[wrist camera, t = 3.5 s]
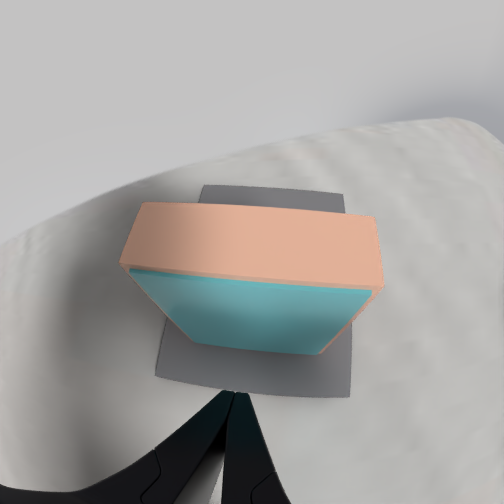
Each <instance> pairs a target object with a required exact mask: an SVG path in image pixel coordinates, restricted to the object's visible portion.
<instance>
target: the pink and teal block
mask: <svg viewBox="0 0 504 504" xmlns="http://www.w3.org/2000/svg"><path fill="white" fill-rule="evenodd" d="M118 263H119V264H120V265H121V267H122V268H123V269H124V270H125V271H126V272H127V274H128V275H129V276H130V277H131V278H132V279H133V280H134V281H135V283H136V284H137V285H138V286H139V287H140V288H141V289H142V290H143V291H144V292H145V294H146V295H147V296H148V297H149V298H150V299H151V300H152V301H153V302H154V303H155V304H156V305H157V306H158V307H159V308H160V309H161V310H162V311H163V313H164V314H165V315H166V316H167V317H168V318H169V319H170V320H171V321H172V322H173V323H174V324H175V325H176V326H177V327H178V328H179V329H180V330H181V331H182V332H184V333H185V334H186V335H187V336H188V337H189V338H190V339H191V340H192V341H194V342H195V343H201V344H207V345H214V346H222V347H229V348H238V349H246V350H256V351H266V352H277V353H291V354H307V355H317V354H321V353H322V352H323V351H324V350H325V349H326V348H327V347H328V346H329V345H330V344H331V343H332V342H333V341H334V340H335V339H336V338H337V337H338V336H339V335H340V334H341V333H342V332H343V331H344V330H345V329H346V328H347V327H348V326H349V325H350V324H351V323H352V322H353V321H354V320H355V319H356V317H357V316H358V315H359V314H360V313H361V312H362V311H363V310H364V309H365V308H366V307H367V305H368V304H369V303H370V302H371V301H372V300H373V299H374V298H375V296H376V295H377V294H378V293H379V292H380V291H381V290H382V288H383V287H384V278H383V269H382V261H381V253H380V246H379V240H378V233H377V227H376V222H375V217H371V216H362V215H353V214H344V213H334V212H323V211H312V210H301V209H288V208H275V207H260V206H244V205H225V204H203V203H172V202H143V203H142V205H141V207H140V210H139V212H138V214H137V217H136V219H135V221H134V224H133V226H132V229H131V231H130V233H129V236H128V238H127V241H126V244H125V246H124V249H123V251H122V254H121V257H120V259H119V262H118Z"/></svg>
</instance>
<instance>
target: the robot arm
mask: <svg viewBox="0 0 504 504" xmlns="http://www.w3.org/2000/svg"><path fill="white" fill-rule="evenodd" d="M154 449H155V450H154ZM154 449H152V450H151V451H150V452H149V453H147V454H146V455H145V456H143V457H142V458H140V459H139V460H138V461H136V462H135V463H133V464H132V465H130V466H128V467H127V468H125V469H123V470H121V471H120V472H118V473H116V474H114V475H112V476H110V477H108V478H106V479H104V480H102V481H100V482H98V483H96V484H94V485H91V486H89V487H87V488H85V489H82V490H78V491H73V492H45V491H32V490H23V489H15V488H10V487H6V486H3V485H1V484H0V504H208V503H209V500H210V498H211V495H212V492H213V490H214V487H215V484H216V482H217V479H218V476H219V473H220V471H221V468H222V465H223V462H224V469H223V483H222V498H221V504H291V502H290V501H289V499H288V497H287V495H286V493H285V491H284V489H283V487H282V484H281V482H280V480H279V477H278V475H277V472H275V471H276V470H275V467H274V464H273V462H272V459H271V456H270V454H269V451H268V448H267V445H266V443H265V440H264V437H263V434H262V431H261V428H260V426H259V423H258V420H257V417H256V414H255V411H254V408H253V405H252V402H251V399H250V396H249V394H248V393H242V392H236V393H235V392H234V391H227V390H222V391H221V392H220V393H219V394H217V395H216V396H215V397H214V398H213V399H212V400H211V401H210V402H209V403H207V404H206V405H205V406H204V407H203V408H202V409H201V410H200V411H198V412H197V413H196V414H195V415H194V416H193V417H192V418H190V419H189V420H188V421H187V422H186V423H185V424H183V425H182V426H181V427H180V428H179V429H177V430H176V431H175V432H174V433H173V434H171V435H170V436H169V437H168V438H166V439H165V440H164V441H163V442H161V443H160V444H159V445H158V446H156V447H155V448H154Z"/></svg>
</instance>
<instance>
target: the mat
mask: <svg viewBox="0 0 504 504" xmlns="http://www.w3.org/2000/svg"><path fill="white" fill-rule="evenodd" d="M199 203H203V204H225V205H244V206H260V207H275V208H288V209H301V210H312V211H323V212H334V213H344V214H345V207H344V198H343V194H337V193H327V192H317V191H306V190H294V189H280V188H265V187H248V186H225V185H204V187H203V190H202V193H201V196H200V199H199ZM351 357H352V323H351V324H350V325H349V326H348V327H347V328H346V329H345V330H344V331H343V332H342V333H341V334H340V335H339V336H338V337H337V338H336V339H335V340H334V341H333V342H332V343H331V344H330V345H329V346H328V347H327V348H326V349H325V350H324V351H323V352H322V353H321V354H317V355H307V354H291V353H277V352H266V351H256V350H246V349H238V348H229V347H222V346H214V345H207V344H201V343H195V342H194V341H192V340H191V339H190V338H189V337H188V336H187V335H186V334H185V333H184V332H182V331H181V330H180V329H179V328H178V327H177V326H176V325H175V324H174V323H173V322H172V321H171V320H170V319H169V318H168V317H167V321H166V325H165V329H164V334H163V339H162V343H161V348H160V353H159V358H158V363H157V368H156V373H155V376H157V377H161V378H166V379H170V380H175V381H179V382H184V383H189V384H195V385H200V386H206V387H212V388H218V389H225V390H232V391H239V392H247V393H257V394H267V395H279V396H295V397H324V398H344V397H350V383H351Z"/></svg>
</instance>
